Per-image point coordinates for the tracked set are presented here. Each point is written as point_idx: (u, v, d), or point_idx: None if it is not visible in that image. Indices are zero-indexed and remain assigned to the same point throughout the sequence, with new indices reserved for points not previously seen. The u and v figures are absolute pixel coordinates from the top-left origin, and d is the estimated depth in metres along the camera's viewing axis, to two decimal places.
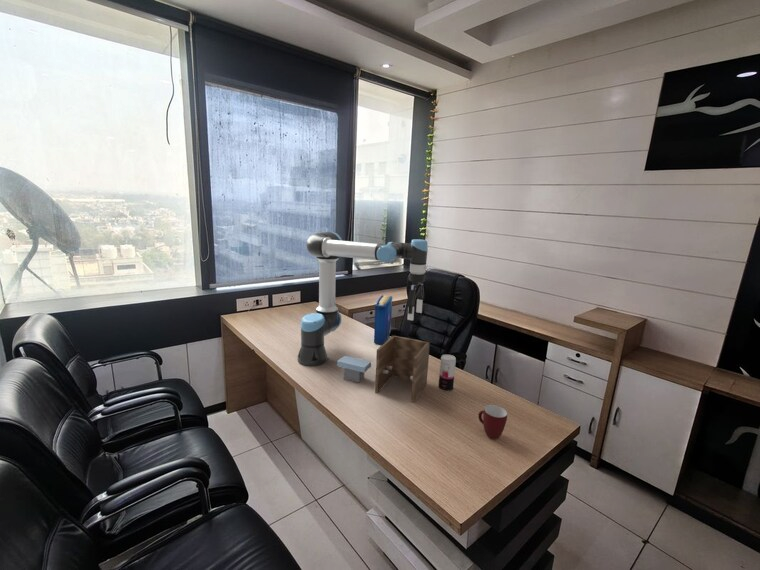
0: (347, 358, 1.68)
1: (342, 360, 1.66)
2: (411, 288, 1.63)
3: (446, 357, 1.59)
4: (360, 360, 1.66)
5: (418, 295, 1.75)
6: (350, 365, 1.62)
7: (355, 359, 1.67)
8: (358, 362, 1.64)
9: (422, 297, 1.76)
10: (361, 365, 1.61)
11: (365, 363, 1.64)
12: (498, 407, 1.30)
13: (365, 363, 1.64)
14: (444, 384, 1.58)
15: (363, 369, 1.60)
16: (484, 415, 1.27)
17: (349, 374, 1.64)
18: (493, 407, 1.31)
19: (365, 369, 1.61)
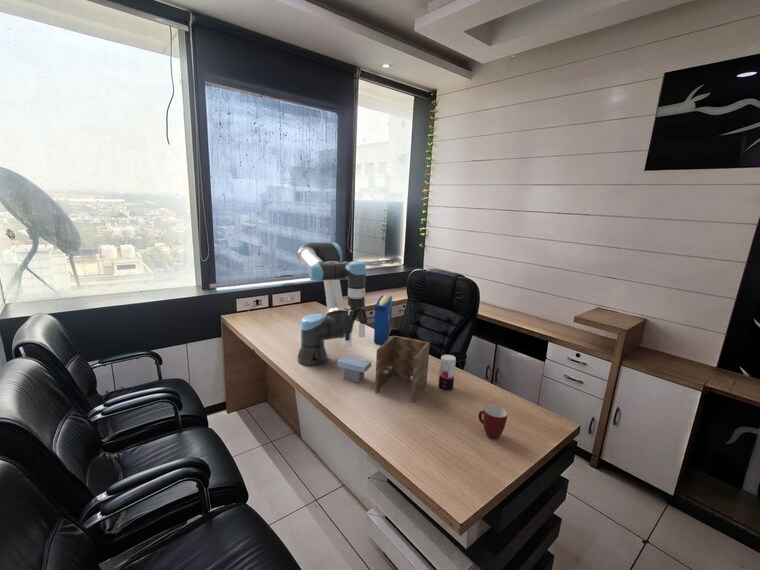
0: (347, 358, 1.68)
1: (342, 360, 1.66)
2: (347, 314, 1.54)
3: (446, 357, 1.59)
4: (360, 360, 1.66)
5: (360, 319, 1.66)
6: (350, 365, 1.62)
7: (355, 359, 1.67)
8: (358, 362, 1.64)
9: (364, 321, 1.67)
10: (361, 365, 1.61)
11: (365, 363, 1.64)
12: (498, 407, 1.30)
13: (365, 363, 1.64)
14: (444, 384, 1.58)
15: (363, 369, 1.60)
16: (484, 415, 1.27)
17: (349, 374, 1.64)
18: (493, 407, 1.31)
19: (365, 369, 1.61)
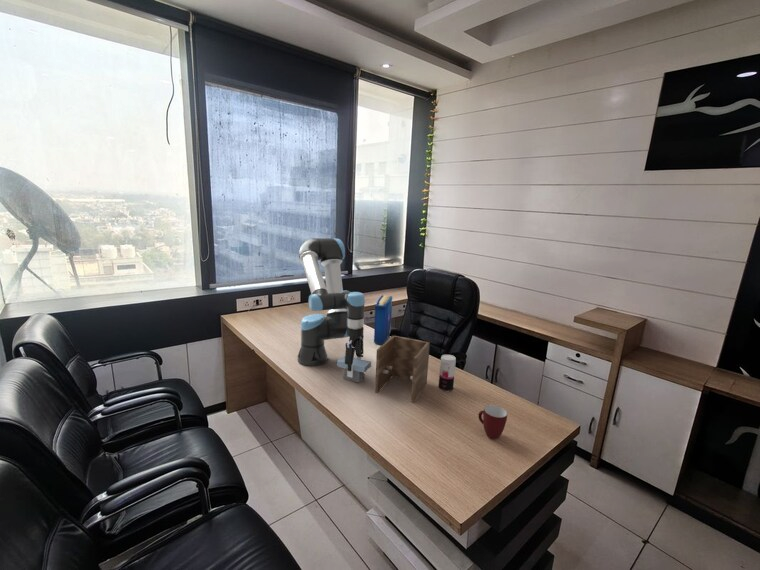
0: None
1: (342, 360, 1.66)
2: (347, 346, 1.57)
3: (446, 357, 1.59)
4: (360, 360, 1.66)
5: (356, 351, 1.67)
6: None
7: (355, 359, 1.67)
8: (358, 362, 1.64)
9: (360, 354, 1.68)
10: (361, 365, 1.61)
11: (365, 363, 1.64)
12: (498, 407, 1.30)
13: (365, 363, 1.64)
14: (444, 384, 1.58)
15: (363, 369, 1.60)
16: (484, 415, 1.27)
17: None
18: (493, 407, 1.31)
19: (365, 369, 1.61)
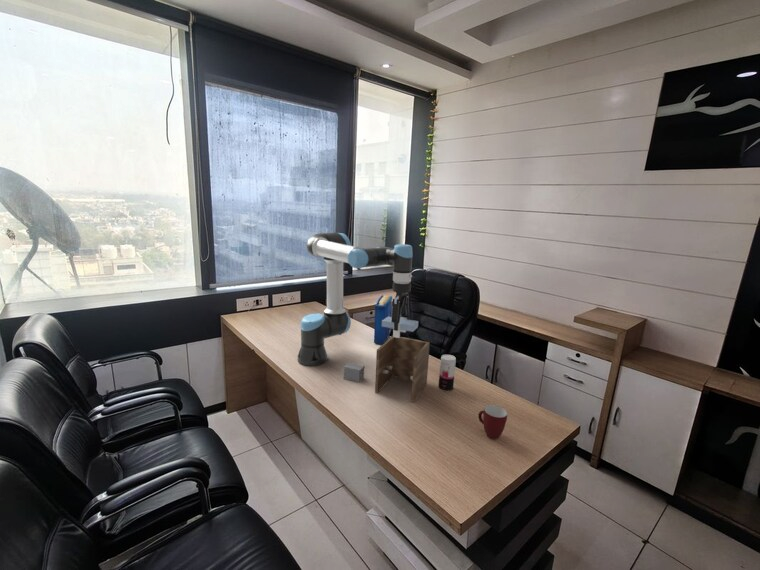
0: None
1: (387, 320, 1.52)
2: (394, 302, 1.44)
3: (446, 357, 1.59)
4: (406, 320, 1.53)
5: (402, 310, 1.54)
6: None
7: (400, 319, 1.54)
8: (404, 322, 1.50)
9: (406, 314, 1.55)
10: (409, 324, 1.48)
11: (412, 322, 1.50)
12: (498, 407, 1.30)
13: (412, 322, 1.50)
14: (444, 384, 1.58)
15: (412, 328, 1.46)
16: (484, 415, 1.27)
17: (349, 374, 1.64)
18: (493, 407, 1.31)
19: (413, 328, 1.47)
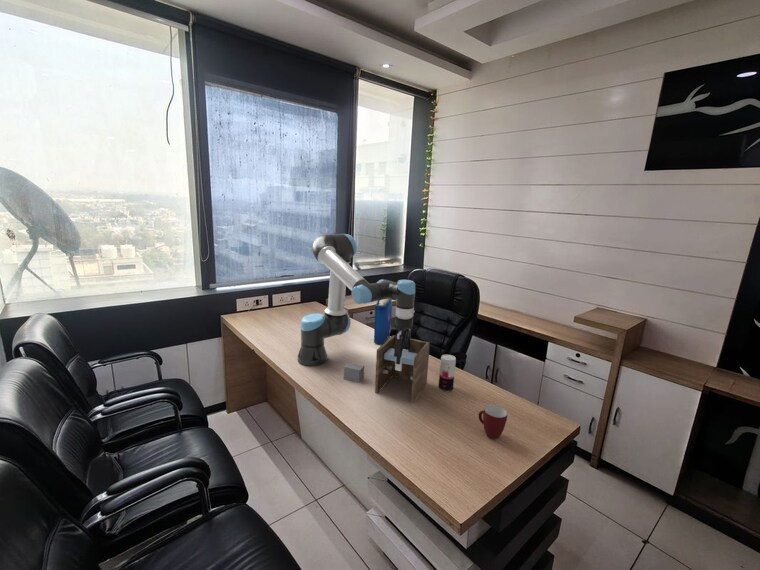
0: None
1: (389, 352, 1.55)
2: (397, 338, 1.47)
3: (446, 357, 1.59)
4: (408, 353, 1.56)
5: (404, 343, 1.57)
6: None
7: (402, 352, 1.57)
8: (407, 355, 1.53)
9: (408, 346, 1.58)
10: (411, 358, 1.51)
11: (414, 356, 1.53)
12: (498, 407, 1.30)
13: (414, 355, 1.53)
14: (444, 384, 1.58)
15: None
16: (484, 415, 1.27)
17: (349, 374, 1.64)
18: (493, 407, 1.31)
19: None
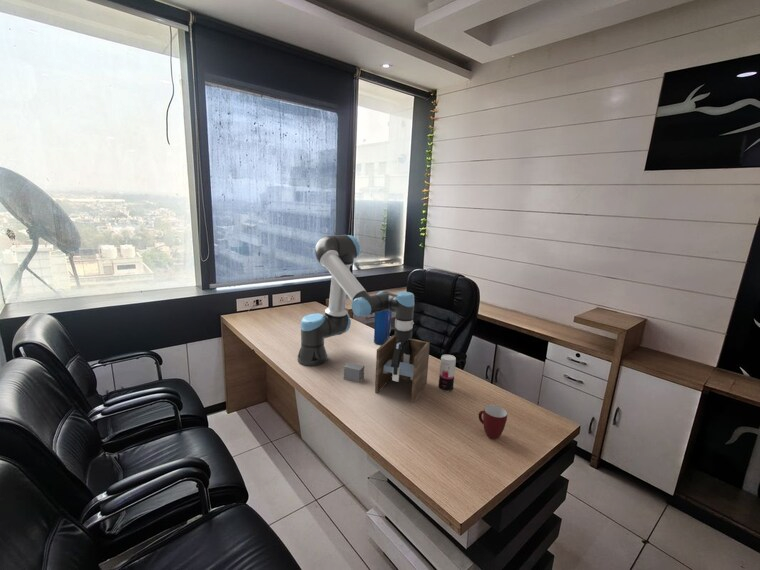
0: None
1: (388, 364, 1.56)
2: (396, 347, 1.47)
3: (446, 357, 1.59)
4: (407, 364, 1.57)
5: (405, 350, 1.60)
6: None
7: (402, 363, 1.58)
8: (406, 367, 1.54)
9: (409, 352, 1.61)
10: (410, 370, 1.52)
11: None
12: (498, 407, 1.30)
13: (413, 367, 1.55)
14: (444, 384, 1.58)
15: None
16: (484, 415, 1.27)
17: (349, 374, 1.64)
18: (493, 407, 1.31)
19: None
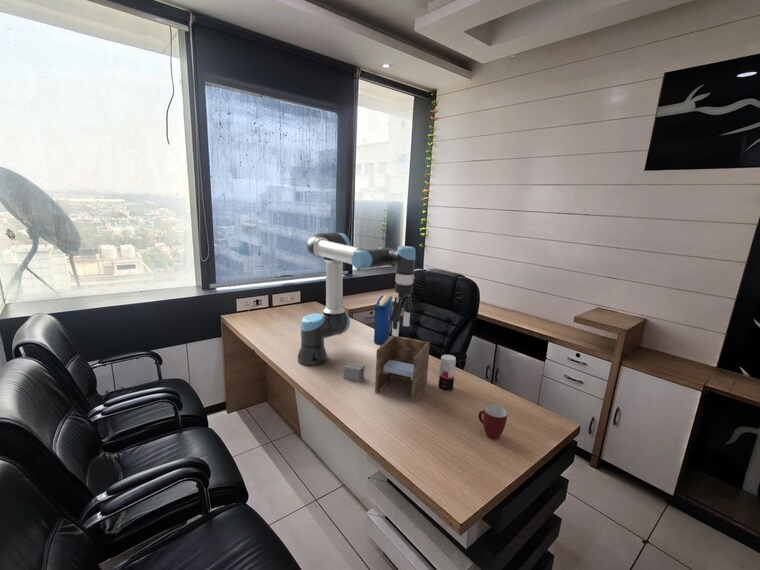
0: (393, 362, 1.59)
1: (388, 364, 1.56)
2: (396, 301, 1.46)
3: (446, 357, 1.59)
4: (407, 364, 1.57)
5: (405, 307, 1.58)
6: (398, 370, 1.53)
7: (402, 363, 1.58)
8: (406, 367, 1.54)
9: (410, 309, 1.59)
10: (410, 370, 1.52)
11: None
12: (498, 407, 1.30)
13: (413, 367, 1.55)
14: (444, 384, 1.58)
15: None
16: (484, 415, 1.27)
17: (349, 374, 1.64)
18: (493, 407, 1.31)
19: None
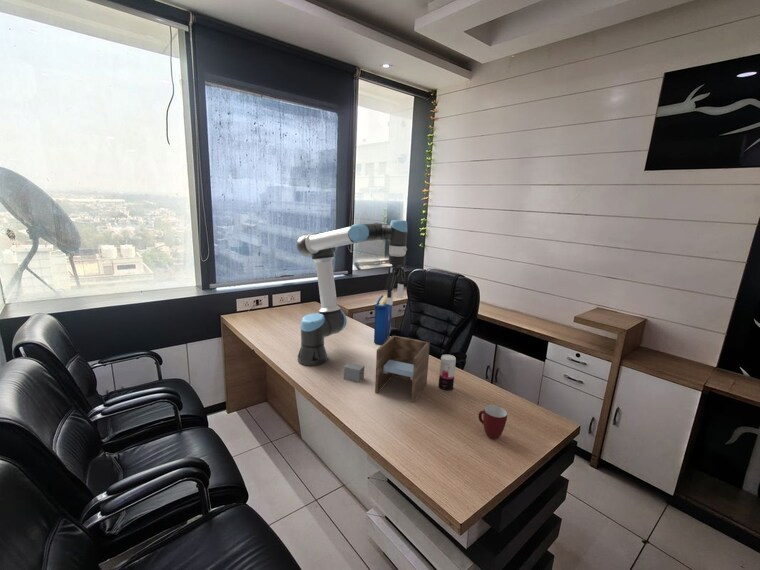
0: (393, 362, 1.59)
1: (388, 364, 1.56)
2: (390, 271, 1.55)
3: (446, 357, 1.59)
4: (407, 364, 1.57)
5: (399, 279, 1.68)
6: (398, 370, 1.53)
7: (402, 363, 1.58)
8: (406, 367, 1.54)
9: (403, 281, 1.69)
10: (410, 370, 1.52)
11: None
12: (498, 407, 1.30)
13: (413, 367, 1.55)
14: (444, 384, 1.58)
15: None
16: (484, 415, 1.27)
17: (349, 374, 1.64)
18: (493, 407, 1.31)
19: None
